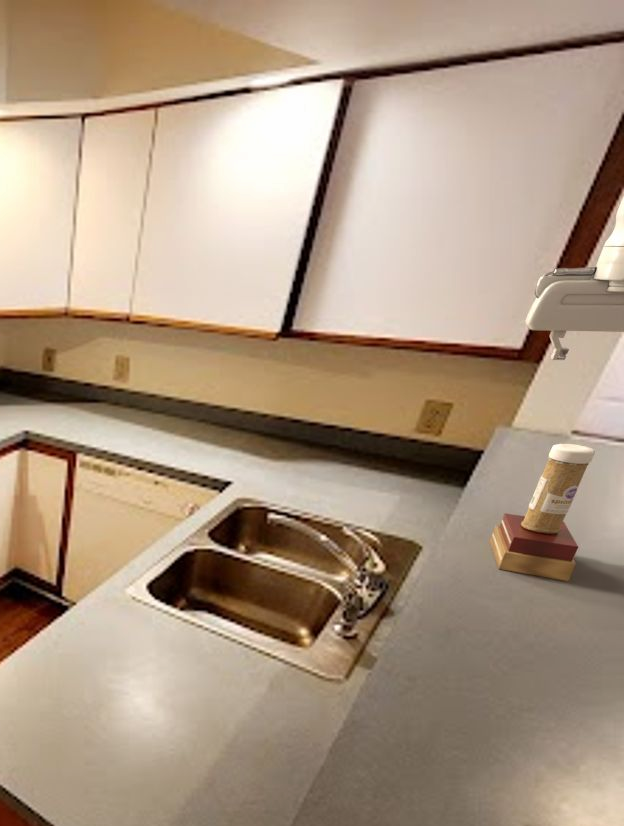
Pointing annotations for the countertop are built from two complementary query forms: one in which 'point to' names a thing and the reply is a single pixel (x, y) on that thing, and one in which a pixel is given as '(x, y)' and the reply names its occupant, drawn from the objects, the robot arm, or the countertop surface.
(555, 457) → the sprinkles bottle
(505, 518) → the red and wooden block
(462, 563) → the countertop surface
